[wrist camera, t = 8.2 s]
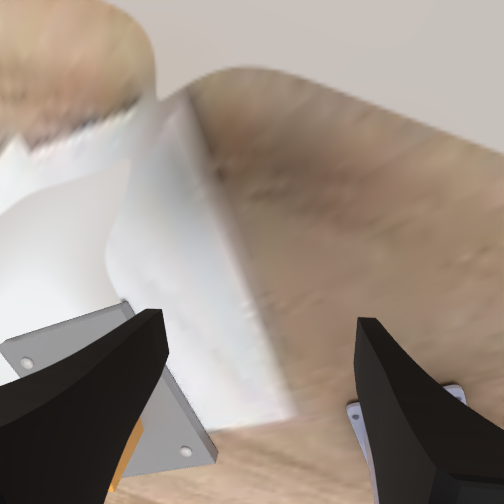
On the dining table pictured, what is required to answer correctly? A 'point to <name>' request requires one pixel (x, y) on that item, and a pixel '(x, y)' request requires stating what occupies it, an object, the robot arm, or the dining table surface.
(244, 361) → the dining table surface
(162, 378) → the plate
